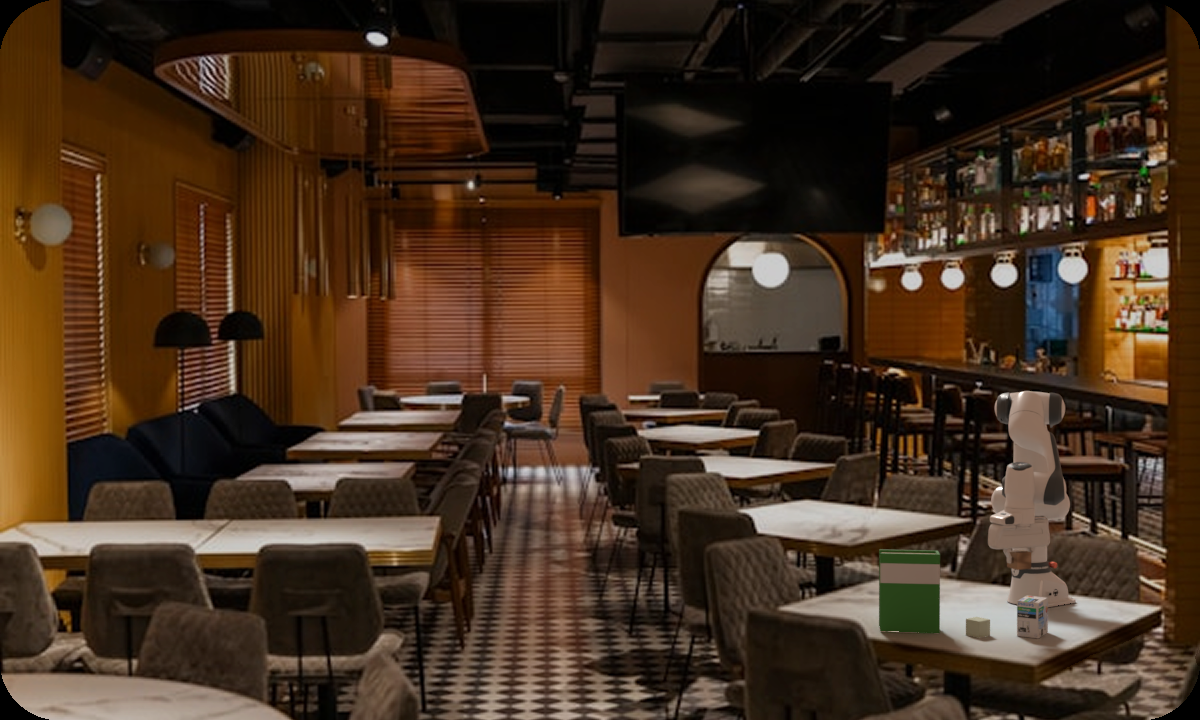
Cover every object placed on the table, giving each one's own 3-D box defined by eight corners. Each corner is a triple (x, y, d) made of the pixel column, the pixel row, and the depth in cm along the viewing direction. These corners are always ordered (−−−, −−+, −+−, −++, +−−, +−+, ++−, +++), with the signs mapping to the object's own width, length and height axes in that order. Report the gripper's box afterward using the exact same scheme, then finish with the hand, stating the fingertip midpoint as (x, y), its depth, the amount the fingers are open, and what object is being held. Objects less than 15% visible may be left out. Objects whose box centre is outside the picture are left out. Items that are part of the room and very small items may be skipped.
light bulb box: (1038, 639, 435) (1039, 603, 435) (1016, 636, 438) (1016, 600, 438) (1048, 632, 444) (1048, 597, 444) (1026, 630, 447) (1026, 594, 447)
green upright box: (880, 632, 445) (880, 553, 444) (878, 626, 452) (879, 549, 452) (939, 633, 443) (940, 554, 442) (937, 628, 450) (937, 550, 449)
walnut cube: (1020, 566, 446) (1021, 549, 446) (1031, 568, 441) (1031, 552, 441) (1007, 567, 444) (1007, 550, 444) (1017, 569, 439) (1017, 553, 439)
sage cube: (976, 633, 443) (976, 616, 443) (990, 636, 439) (990, 619, 439) (965, 635, 440) (965, 618, 440) (979, 638, 436) (979, 621, 436)
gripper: (1041, 513, 449) (1041, 558, 449) (985, 517, 442) (984, 562, 442) (1054, 516, 443) (1054, 562, 443) (997, 519, 436) (997, 566, 436)
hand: (1019, 562), depth 443 cm, fingers closed on walnut cube, 5 cm apart
